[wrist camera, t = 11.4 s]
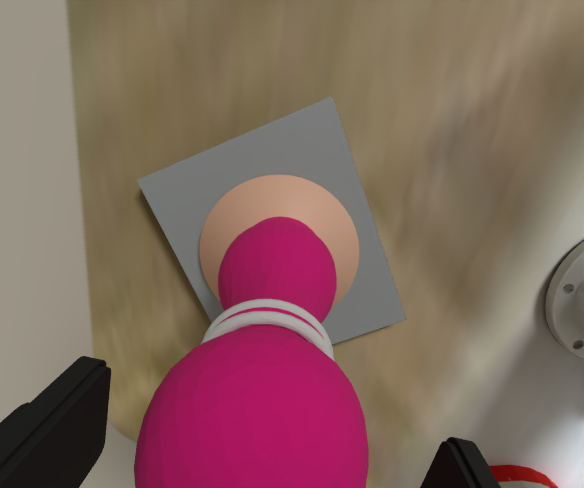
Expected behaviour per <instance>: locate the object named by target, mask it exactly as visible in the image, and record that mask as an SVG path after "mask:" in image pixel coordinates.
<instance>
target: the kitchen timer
mask: <svg viewBox="0 0 584 488" xmlns="http://www.w3.org/2000/svg"><path fill="white" fill-rule="evenodd" d="M489 468H490V470H491V471H492V473H493V475H494V476H495V478H496V480H497V481H498V483H499V485H500V487H501V488H558V487H557V486H556V485H555V484H554V483H553V482H552V481H551V480H550V479H549V478H548V477H547V476H546V475H544V474H542V473H540V472H537V471H535V470H533V469H531V468H527V467H521V466H514V465H501V466H489Z"/></svg>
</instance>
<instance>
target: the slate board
mask: <svg viewBox="0 0 584 488" xmlns="http://www.w3.org/2000/svg"><path fill="white" fill-rule="evenodd" d="M137 182H138V184H139V186H140V188H141V190H142V191H143V193H144V195H145V197H146V199H147V201H148V203H149V205H150V207H151V209H152V211H153V212H154V214H155V216H156V218H157V220H158V222H159V224H160V226H161V228H162V230H163V231H164V233H165V235H166V237H167V239H168V241H169V243H170V245H171V247H172V249H173V250H174V252H175V254H176V256H177V258H178V260H179V262H180V264H181V266H182V268H183V270H184V271H185V273H186V275H187V277H188V279H189V281H190V283H191V285H192V287H193V289H194V290H195V292H196V294H197V296H198V298H199V300H200V302H201V304H202V306H203V308H204V310H205V311H206V313H207V315H208V317H209V319H210V321H211V323H212V322H213V321H214V320H215V319H216V318H217V317H218V316H219V315H221V314H222V313H223V312H224V309H223V307H222V304H221V302H220V298H219V292H218V273H219V268H220V265H221V262H222V260H223V257H224V255H225V252H226V250H227V249H228V247H229V246H230V244H231V243H232V242H233V241H234V240H235V238H236V237H237V236H238V235H240V234H241V233H242V232H244V231H245V230H247V229H248V228H250V227H252V226H254V225H255V224H257V223H259V222H261V221H263V220H265V219H267V218H272V217H279V216H282V217H290V218H293V219H296V220H299V221H301V222H302V223H304V224H306V225H307V226H308V227H309V228H311V229H312V230H313V232H314V233H315V234H316V235H317V236H318V237H319V238H320V239H321V240H322V241H323V242H324V244H325V245H326V246H327V248H328V249H329V251H330V253H331V255H332V258H333V260H334V263H335V269H336V277H337V290H336V294H335V298H334V301H333V304H332V307H331V310H330V312H329V313H328V315H327V317H326V318H325V319H324V321H323V322H322V323H321V325H322V326H323V328H324V329H325V331H326V333H327V335H328V337H329V339H330V341H331V345H333V344H335V343H338V342H341V341H344V340H347V339H350V338H353V337H356V336H359V335H362V334H365V333H368V332H371V331H374V330H377V329H380V328H383V327H386V326H389V325H392V324H395V323H398V322H401V321H404V320H407V319H406V316H405V313H404V310H403V307H402V304H401V301H400V298H399V295H398V292H397V289H396V286H395V283H394V280H393V277H392V274H391V271H390V268H389V265H388V262H387V259H386V256H385V253H384V250H383V247H382V244H381V241H380V238H379V235H378V232H377V229H376V226H375V223H374V220H373V217H372V214H371V211H370V208H369V205H368V202H367V199H366V196H365V193H364V190H363V187H362V184H361V181H360V178H359V175H358V173H357V170H356V167H355V164H354V161H353V158H352V155H351V152H350V149H349V146H348V143H347V140H346V137H345V134H344V131H343V128H342V125H341V122H340V119H339V116H338V113H337V110H336V107H335V104H334V101H333V98H332V96H331V97H329V98H326V99H324V100H322V101H319V102H317V103H315V104H312V105H310V106H308V107H305V108H303V109H301V110H298V111H296V112H294V113H291V114H289V115H287V116H285V117H282V118H280V119H278V120H275V121H273V122H271V123H268V124H266V125H264V126H261V127H259V128H257V129H254V130H252V131H250V132H247V133H245V134H243V135H240V136H238V137H236V138H233V139H231V140H229V141H227V142H224V143H222V144H220V145H217V146H215V147H213V148H210V149H208V150H206V151H203V152H201V153H199V154H196V155H194V156H192V157H189V158H187V159H185V160H182V161H180V162H178V163H175V164H173V165H171V166H169V167H166V168H164V169H162V170H159V171H157V172H155V173H152V174H150V175H148V176H145V177H143V178H141V179H138V180H137Z"/></svg>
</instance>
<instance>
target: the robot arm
mask: <svg viewBox="0 0 584 488" xmlns="http://www.w3.org/2000/svg"><path fill="white" fill-rule="evenodd" d="M545 311H546V320H547V323H548V326H549V329H550V331H551V332H552V334H553V335H554V337H555V338H556V340H557V341H558V342H560V343H561V344H562V345H563V346H564V347H565V348H566V349H568V350H569V351H571V352H572V353H574V354H575V355H576V356H578V357H581V358H583V359H584V241H583V242H582V243H581V244H579V245H578V246H577V247H576V248H575V249H574V250H573V251H572V252H571V253H570V254H569V255H568V256H567V257H566V258H565V260H564V261H563V262H562V263H561V265H560V266H559V267H558V269H557V271H556V273H555V274H554V276H553V278H552V280H551V283H550V285H549V288H548V291H547V296H546V303H545ZM110 379H111V369H110V368H108V367H106V362H105V361H104V360H100V359H95V358H90V357H86V356H82V357H80V358H79V359H77V360H76V361H75V362H74V363H73V364H72V365H71V366H70V367H69V368H68V369H66V370H65V371H64V372H63V373H62V374H61V375H60V376H59V377H58V378H57V379H56V380H54V381H53V382H52V383H51V384H50V385H49V386H48V387H47V388H46V389H45V390H43V391H42V392H41V393H40V394H39V395H38V396H37V397H36V398H35V399H34V400H33V401H32V402H30V403H25V404H23V405H21V406H19V407H18V408H17V409H15V410H14V411H13V412H12V413H11V414H10V415H9V416H7V417H6V418H5V419H4V420H3V421H2V422H1V423H0V488H79V487H80V485H81V484H82V482H83V481H84V479H85V478H86V476H87V475H88V473H89V472H90V470H91V469H92V467H93V466H94V464H95V463H96V461H97V460H98V458H99V456H100V455H101V453H102V450H103V448H104V444H105V436H106V425H107V413H108V402H109V390H110ZM420 488H501V487H500V485H499V483H498V481H497V480H496V478H495V476H494V475H493V473H492V471H491V470H490V468H489V466H488V464H487V463H486V461H485V459H484V458H483V456H482V454H481V453H480V451H479V449H478V448H477V446H476V445H475V443H473V442H472V441H468V440H463V439H459V438H454V437H450V438H448V439H447V441H446V442H445V441H444V442H442V443H441V445H440V447H439V449H438V451H437V453H436V455H435V457H434V460H433V462H432V464H431V466H430V468H429V470H428V472H427V474H426V477H425V479H424V481H423V483H422V485H421V487H420Z"/></svg>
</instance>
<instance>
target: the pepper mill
mask: <svg viewBox="0 0 584 488" xmlns="http://www.w3.org/2000/svg"><path fill="white" fill-rule="evenodd" d="M336 290H337V277H336V269H335V263H334V260H333V258H332V255H331V253H330V251H329V249H328V248H327V246H326V245H325V244H324V242H323V241H322V240H321V239H320V238H319V237H318V236H317V235H316V234H315V233H314V232H313V230H312V229H311V228H309V227H308V226H307V225H306V224H304V223H302V222H301V221H299V220H296V219H293V218H290V217H282V216H279V217H272V218H267V219H265V220H263V221H261V222H259V223H257V224H255V225H254V226H252V227H250V228H248V229H247V230H245V231H244V232H242V233H241V234H240V235H238V236H237V237H236V238H235V240H234V241H233V242H232V243H231V244H230V246H229V247H228V249H227V250H226V252H225V255H224V257H223V260H222V262H221V265H220V268H219V273H218V292H219V298H220V302H221V304H222V307H223V309H224V312H223V313H222V314H221V315H219V316H218V317H217V318H216V319H215V320H214V321H213V322H212V324H211V325H210V326H209V328H208V330H207V332H206V333H205V336H204V338H203V341H202V342H201V344H200V345H199V346H197V347H196V348H194V349H193V350H192V351H191V352H190V353H188V354H187V355H186V356H185V357H184V358H183V359H182V360H180V361H179V362H178V363H177V364H176V365H175V366H174V367H172V368H171V370H170V371H169V373H168V374H167V375H166V377H165V378H164V380H163V381H162V383H161V384H160V386H159V387H158V388H157V390H156V391H155V394H154V396H153V398H152V400H151V403H150V405H149V407H148V409H147V411H146V414H145V416H144V419H143V422H142V426H141V430H140V434H139V438H138V441H137V448H136V456H135V464H134V474H135V487H136V488H365V487H366V480H367V473H368V466H369V465H368V442H367V433H366V425H365V418H364V415H363V411H362V408H361V405H360V402H359V400H358V397H357V395H356V393H355V391H354V388H353V386H352V384H351V382H350V381H349V380H348V378H347V377H346V376H345V374H344V373H343V372H342V370H341V369H340V367H339V366H338V365H337V363H336V362H335V360H334V357H333V348H332V345H331V341H330V339H329V337H328V335H327V333H326V331H325V329H324V328H323V326H322V325H321V323H322V322H323V321H324V319H325V318H326V317H327V315H328V313H329V312H330V310H331V307H332V304H333V301H334V298H335V294H336Z"/></svg>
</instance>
